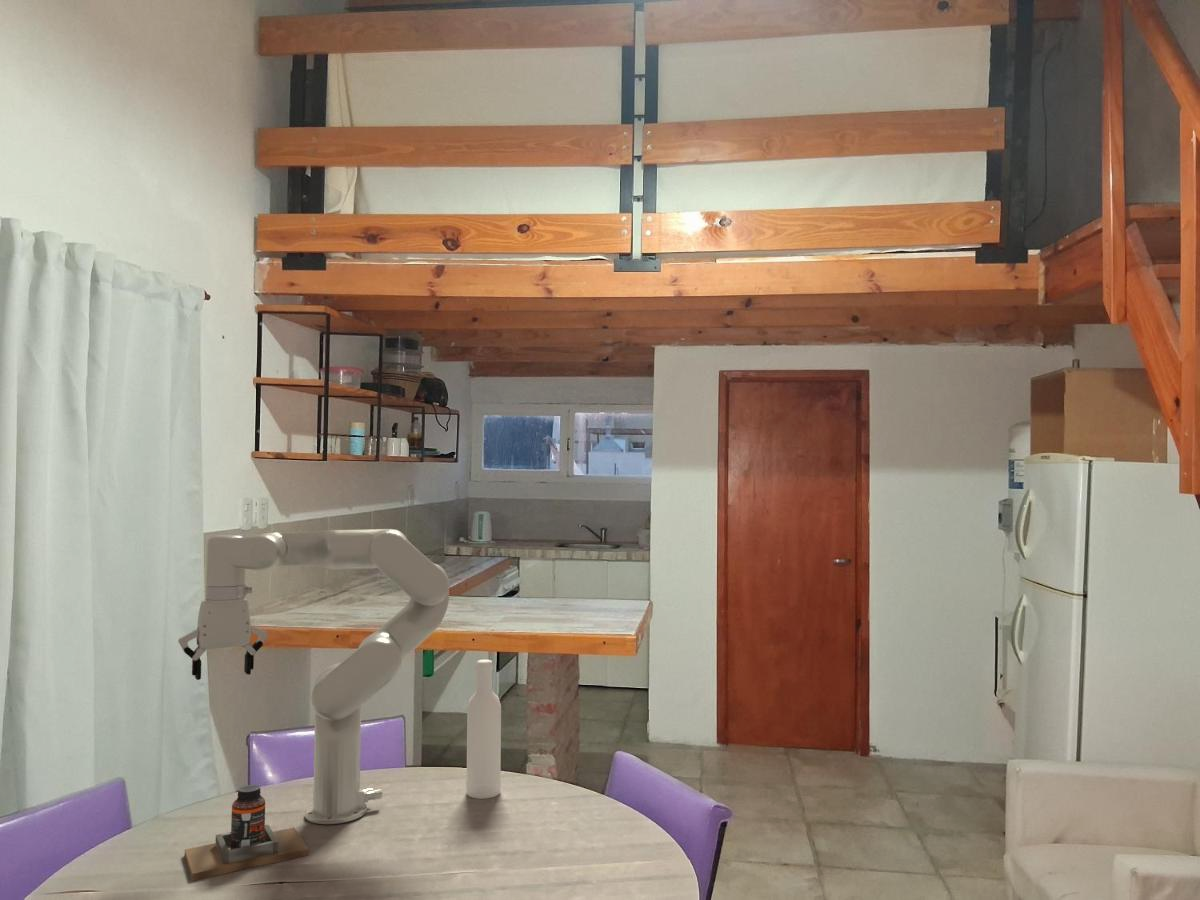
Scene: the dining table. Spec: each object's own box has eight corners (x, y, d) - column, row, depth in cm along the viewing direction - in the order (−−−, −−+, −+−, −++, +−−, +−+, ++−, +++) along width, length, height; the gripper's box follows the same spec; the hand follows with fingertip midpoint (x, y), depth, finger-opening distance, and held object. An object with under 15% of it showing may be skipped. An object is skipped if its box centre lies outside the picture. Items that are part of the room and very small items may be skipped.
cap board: (294, 833, 171) (294, 817, 171) (308, 855, 161) (308, 837, 161) (184, 855, 160) (184, 838, 161) (192, 880, 150) (192, 862, 150)
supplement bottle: (252, 856, 157) (253, 794, 158) (223, 854, 159) (225, 792, 159) (270, 843, 163) (272, 783, 164) (243, 841, 164) (244, 781, 165)
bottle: (508, 793, 194) (508, 660, 196) (480, 802, 188) (482, 665, 190) (486, 784, 200) (487, 656, 201) (459, 793, 194) (460, 660, 195)
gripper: (264, 589, 186) (262, 668, 185) (177, 594, 177) (174, 677, 176) (272, 593, 180) (270, 674, 179) (182, 598, 171) (179, 684, 170)
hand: (223, 675), depth 178 cm, fingers open, 9 cm apart
